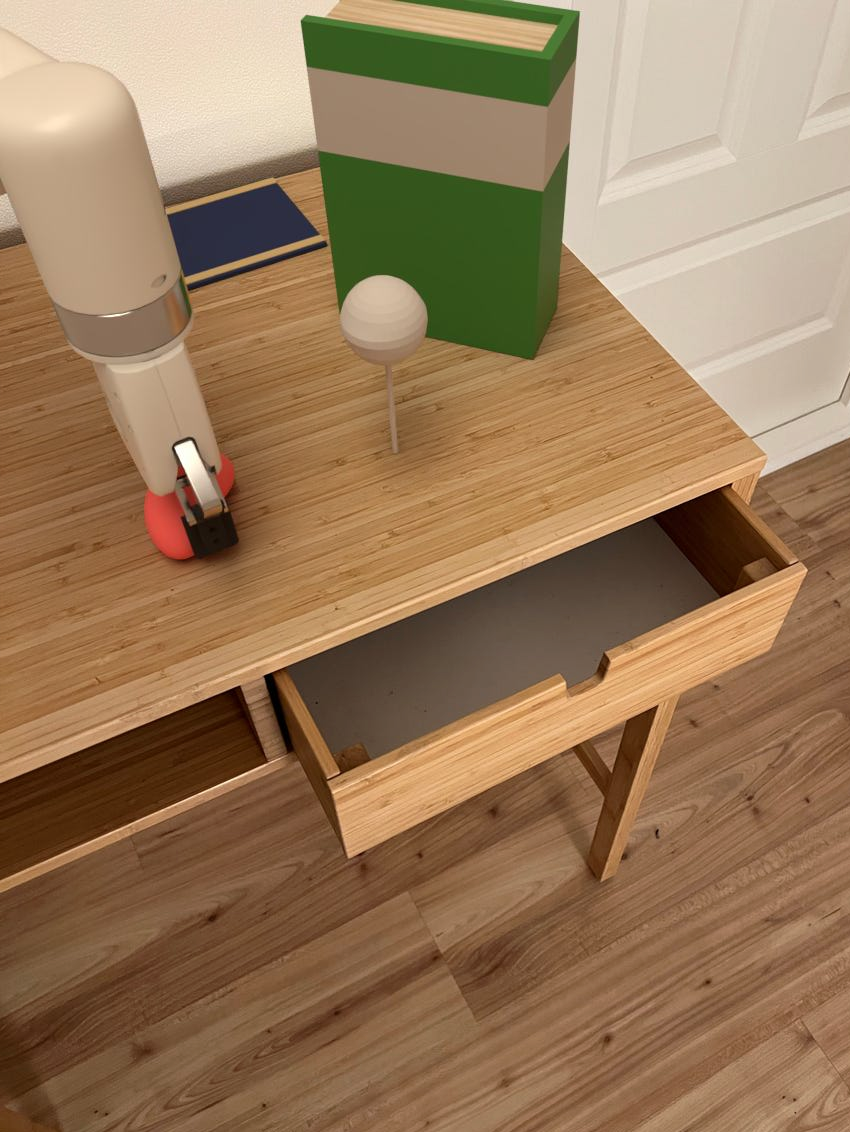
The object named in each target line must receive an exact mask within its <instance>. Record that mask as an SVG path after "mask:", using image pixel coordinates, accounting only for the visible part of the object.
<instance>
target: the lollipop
mask: <svg viewBox="0 0 850 1132" xmlns="http://www.w3.org/2000/svg"><path fill="white" fill-rule="evenodd" d="M427 322H428V316H427V310H426V306H425V304H424V302H423V300H422V299H421V297H420V296H419V295H418V293H417V292H416V291H415V290H414V288H413V287H411V286H410V285H409V284H408V283H406V282H405V281H403V280H401V279H399V278H396V277H393V276H388V275H377V276H372V277H369V278H367V279H365V280H363V281H361V282H359V283H358V284H356V285H355V286H354V288H353V289H352V290H351V291H350V292H349V293H348V295H347V297H346V299H345V301H344V303H343V306H342V309H341V313H339V327H340V331H341V335H342V336H343V338H344V341H345V342H346V344H347V346H348V347H349V348H350V349H351V351H352V352H353V353H354V355H356V356H357V357H358V358H360V359H361V360H363V361H365V362H367V363H369V364H372V365H374V366H384V372H385V384H386V394H387V404H388V415H389V427H390V436H391V437H390V438H391V449H392V453H393V454H398V453H399V452H400V451H399V441H398V440H399V439H398V429H397V417H396V405H395V392H394V381H393V370H392V366H394V365H398V364H401V363H403V362H405V361H407V360H408V359H410V358H411V357H412V356H413V355H414V354H416V353H417V351H418V350H419V349H420V347H421V346H422V345H423V342H424V340H425V334H426V329H427Z"/></svg>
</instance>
